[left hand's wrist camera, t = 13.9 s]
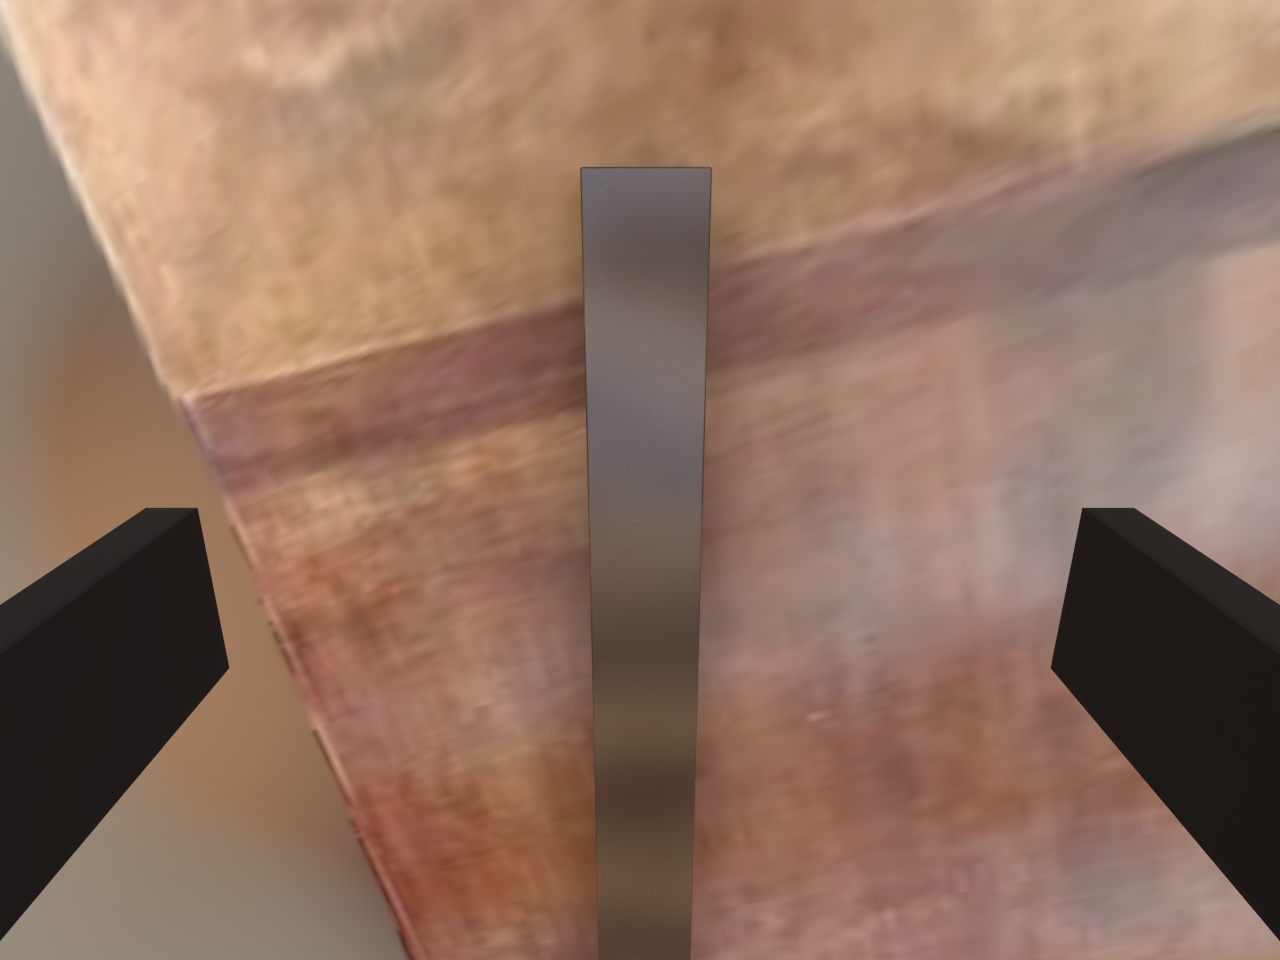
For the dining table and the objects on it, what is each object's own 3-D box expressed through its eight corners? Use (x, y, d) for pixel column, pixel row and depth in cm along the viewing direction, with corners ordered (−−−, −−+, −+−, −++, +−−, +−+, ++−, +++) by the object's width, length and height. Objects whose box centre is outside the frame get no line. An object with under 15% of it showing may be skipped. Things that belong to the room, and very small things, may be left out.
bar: (593, 169, 35) (579, 167, 27) (695, 169, 35) (712, 167, 27) (612, 1202, 58) (608, 1366, 50) (673, 1202, 58) (679, 1366, 50)
